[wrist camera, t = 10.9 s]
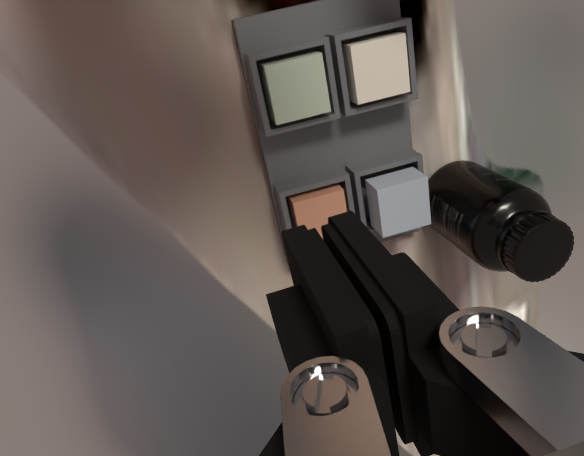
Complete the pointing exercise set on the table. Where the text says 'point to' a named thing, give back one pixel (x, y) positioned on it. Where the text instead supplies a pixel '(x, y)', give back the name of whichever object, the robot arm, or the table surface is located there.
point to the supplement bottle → (498, 221)
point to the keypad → (344, 113)
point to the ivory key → (376, 67)
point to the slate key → (398, 201)
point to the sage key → (295, 86)
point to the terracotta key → (317, 206)
